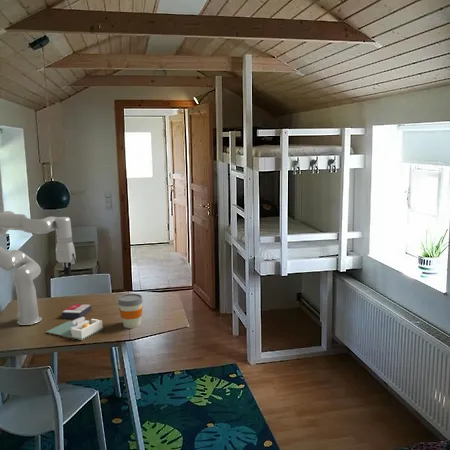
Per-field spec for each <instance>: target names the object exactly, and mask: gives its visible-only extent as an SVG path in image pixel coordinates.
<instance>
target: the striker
mask: <svg viewBox="0 0 450 450" xmlns="http://www.w3.org/2000/svg"><path fill="white" fill-rule="evenodd" d="M72 321H73V322H71V324H72V325H73V327H71V328H70V329H73V328H75V329H80V330H81V329H82V325H83V324H85V323H88V324H90V325H91V321H90V320H87V319H86V317H85V316H83V317H81V318H78V319H72ZM71 334H72V330H71Z"/></svg>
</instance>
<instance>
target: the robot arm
mask: <svg viewBox="0 0 450 450" xmlns="http://www.w3.org/2000/svg"><path fill="white" fill-rule="evenodd" d="M10 230H11V231H23V232H24V233H29V234H37V235H38V234H39V235H41V234H42V235H44V234H49V233H50V232H54V231H56V233H55V234H56V241H57V242H56V244H55V245H56V246H55V259H56V260H55V261H57V262H58V263H59V264H61V265H62V267H63V272H64V275H67V276H68V275H71V274H72V268H71V267H72V266H73V265H75V264H76V262H75V261H76V249H75V244H74V242H73V233H72V223H71V218H70V217H68V216H52V215H51V216H47V217H44V218H41V219H37V218H36V219H35V218H29V217H27V215H25V214H20V213H14V211H11V210H7V211H3V212H0V238H1V237H2V236H4V235H5V234H6V233H7V232H8V231H10ZM0 268H1V269H2V270H4V271H6V272H11V271H13V270H14V272H13V274H12V275H13V276H12V280H13V282H14V285H15V290H16V291H15V292H16V298H17V299H16V300H17V306H18V313H17V314H16V315H15V317H16V318H18V320H17V321H16V324H17V323H18V324H20V325H30V324H34V323H38V322H40V321H41V320H42V319H43V318H42V317H41V316H39V309H38V308H39V307H38V301H37V300H38V299H37V291H36V287H35V284H34V281H33V280H35V279H36V278H38V277H39V276H40V275H41V272H42V269H41V266H40V264H38V263H37V262H36V261H35V260H34V259H33V258H31V257H30V256H28V255H27V254H26V253H25V252H23V251H21V250H20V249H19V250H18V249H13V250H10V251H8V250H6V249H5V248H4V247H3V246H1V245H0ZM42 321H43V320H42ZM42 321H41V322H42ZM41 322H40V323H41ZM38 324H39V323H38Z"/></svg>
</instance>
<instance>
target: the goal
mask: <svg viewBox="0 0 450 450" xmlns="http://www.w3.org/2000/svg"><path fill="white" fill-rule="evenodd" d="M101 328H103V329H104V325H103V320H102V319H96V318H91V319H90V325H89V326H87V327H85V328H83V329H81V330H80V329H75V328H73V329H71V330H72V337H76V338H81V339H82V338H84V337H86V336H88V335H90V334H92V333H94V332H96V331H97V330H99V329H101Z"/></svg>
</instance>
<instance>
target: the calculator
mask: <svg viewBox="0 0 450 450" xmlns="http://www.w3.org/2000/svg"><path fill="white" fill-rule="evenodd" d="M91 311H92V305H91V304H78V303H77V304H75V303H74V304H72V305H70V306H69V307H67V308H66V309H65V310H63V311H62V312H61V319H62V318H64V319H67V320H68V319H69V320H70V319H71V320H76V319H78V318H81V317H85V316H86V315H87V314H88V313H89V312H91Z"/></svg>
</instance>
